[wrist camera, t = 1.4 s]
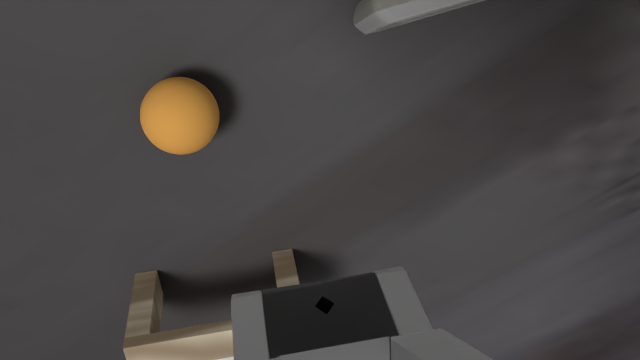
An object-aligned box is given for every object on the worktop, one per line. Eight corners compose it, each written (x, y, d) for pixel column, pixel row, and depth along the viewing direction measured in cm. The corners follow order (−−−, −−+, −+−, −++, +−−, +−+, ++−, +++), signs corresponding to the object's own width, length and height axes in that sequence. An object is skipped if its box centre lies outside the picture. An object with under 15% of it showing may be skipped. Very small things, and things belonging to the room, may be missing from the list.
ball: (136, 71, 47) (127, 99, 42) (212, 61, 48) (212, 88, 43) (152, 139, 50) (146, 173, 45) (224, 129, 51) (225, 162, 46)
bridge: (135, 273, 56) (122, 348, 48) (292, 248, 58) (306, 317, 50) (142, 297, 58) (131, 374, 50) (295, 272, 60) (309, 343, 51)
